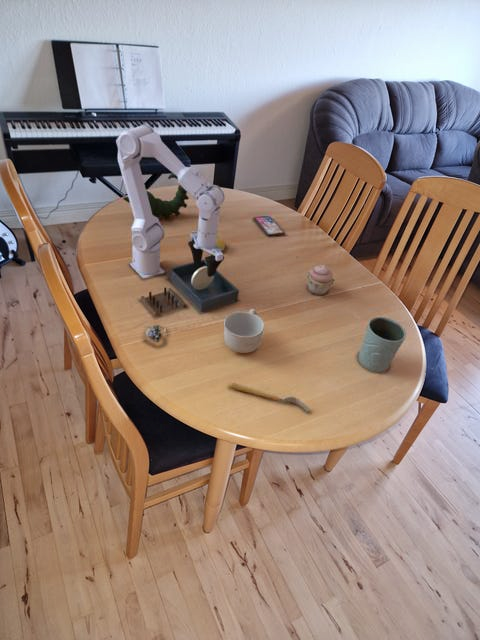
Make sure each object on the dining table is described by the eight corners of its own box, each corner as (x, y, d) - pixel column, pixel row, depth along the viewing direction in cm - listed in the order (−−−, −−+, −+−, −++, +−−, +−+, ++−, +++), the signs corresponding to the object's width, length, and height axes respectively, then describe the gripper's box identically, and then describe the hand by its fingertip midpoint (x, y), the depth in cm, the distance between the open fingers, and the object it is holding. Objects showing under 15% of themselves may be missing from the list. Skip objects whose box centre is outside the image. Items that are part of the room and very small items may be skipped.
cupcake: (311, 278, 152) (318, 253, 146) (335, 289, 149) (343, 264, 142) (298, 289, 146) (305, 264, 140) (323, 301, 142) (331, 276, 136)
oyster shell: (165, 326, 123) (165, 320, 122) (172, 345, 117) (172, 339, 116) (141, 329, 121) (141, 324, 119) (147, 348, 115) (147, 343, 114)
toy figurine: (179, 213, 181) (118, 213, 169) (186, 168, 170) (121, 164, 158) (187, 224, 174) (124, 224, 163) (194, 178, 163) (127, 175, 152)
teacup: (247, 364, 115) (251, 342, 110) (213, 346, 119) (216, 324, 114) (271, 337, 125) (277, 315, 120) (240, 321, 129) (243, 300, 124)
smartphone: (268, 234, 171) (253, 216, 181) (267, 236, 172) (252, 218, 182) (285, 232, 174) (269, 215, 184) (284, 235, 174) (269, 217, 185)
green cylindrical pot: (369, 377, 118) (384, 344, 110) (348, 352, 124) (360, 319, 117) (398, 369, 122) (414, 337, 114) (376, 345, 128) (390, 313, 121)
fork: (229, 386, 107) (310, 408, 104) (231, 379, 108) (311, 401, 105) (229, 391, 109) (308, 413, 106) (231, 384, 110) (309, 406, 107)
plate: (190, 291, 136) (191, 270, 131) (212, 283, 140) (213, 263, 135) (192, 293, 136) (192, 272, 131) (213, 285, 140) (215, 264, 135)
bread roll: (212, 255, 155) (213, 245, 153) (197, 244, 160) (197, 234, 158) (229, 249, 160) (231, 240, 158) (214, 239, 165) (215, 229, 162)
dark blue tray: (168, 279, 141) (168, 268, 138) (203, 269, 148) (204, 259, 145) (200, 313, 129) (201, 302, 127) (237, 300, 137) (239, 290, 134)
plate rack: (140, 300, 130) (140, 292, 128) (170, 291, 136) (170, 283, 134) (155, 317, 125) (155, 309, 123) (185, 307, 130) (185, 299, 128)
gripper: (182, 220, 127) (180, 260, 136) (210, 244, 119) (206, 284, 127) (202, 216, 131) (199, 255, 139) (231, 238, 123) (225, 278, 131)
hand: (204, 269), depth 134 cm, fingers open, 7 cm apart
